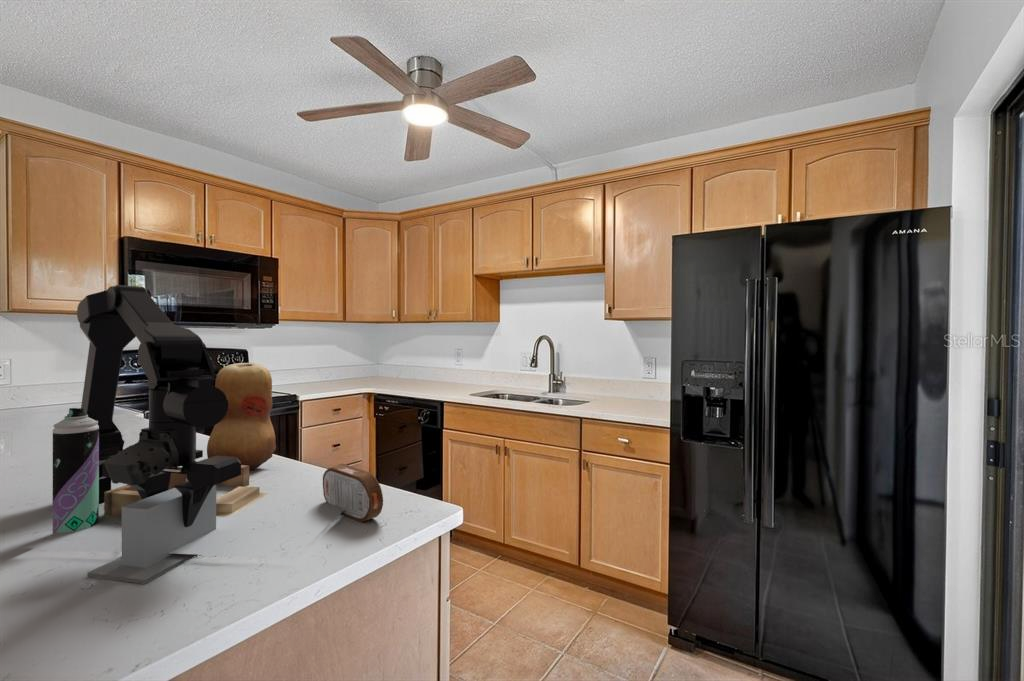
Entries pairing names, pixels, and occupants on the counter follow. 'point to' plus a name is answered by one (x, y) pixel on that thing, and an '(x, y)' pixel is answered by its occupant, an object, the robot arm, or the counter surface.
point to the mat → (138, 569)
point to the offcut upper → (236, 499)
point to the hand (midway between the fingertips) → (172, 524)
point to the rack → (130, 495)
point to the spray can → (75, 472)
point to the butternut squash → (244, 415)
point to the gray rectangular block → (161, 527)
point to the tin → (353, 492)
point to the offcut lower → (242, 506)
